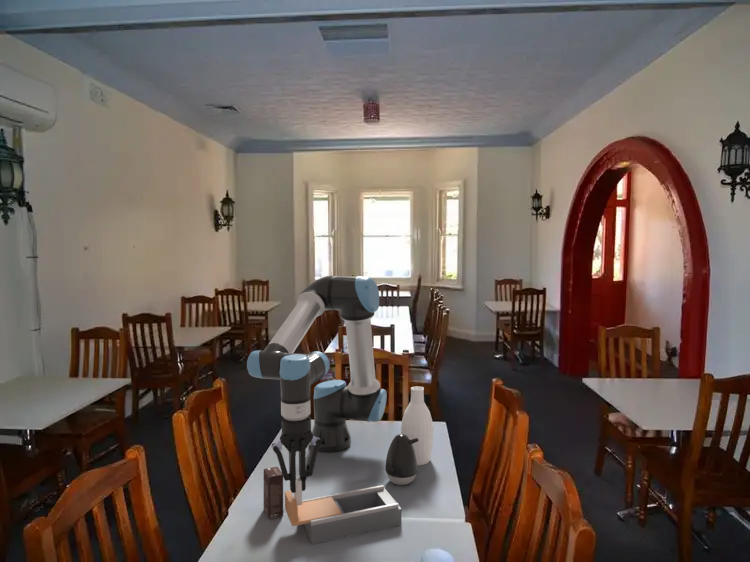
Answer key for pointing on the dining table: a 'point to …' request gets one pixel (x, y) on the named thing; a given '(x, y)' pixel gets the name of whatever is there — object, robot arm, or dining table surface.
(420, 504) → the dining table surface
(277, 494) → the box
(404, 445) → the pump dispenser
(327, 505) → the shutter
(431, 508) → the dining table surface
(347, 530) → the grey sliding-lid case
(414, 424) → the bottle
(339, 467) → the dining table surface
